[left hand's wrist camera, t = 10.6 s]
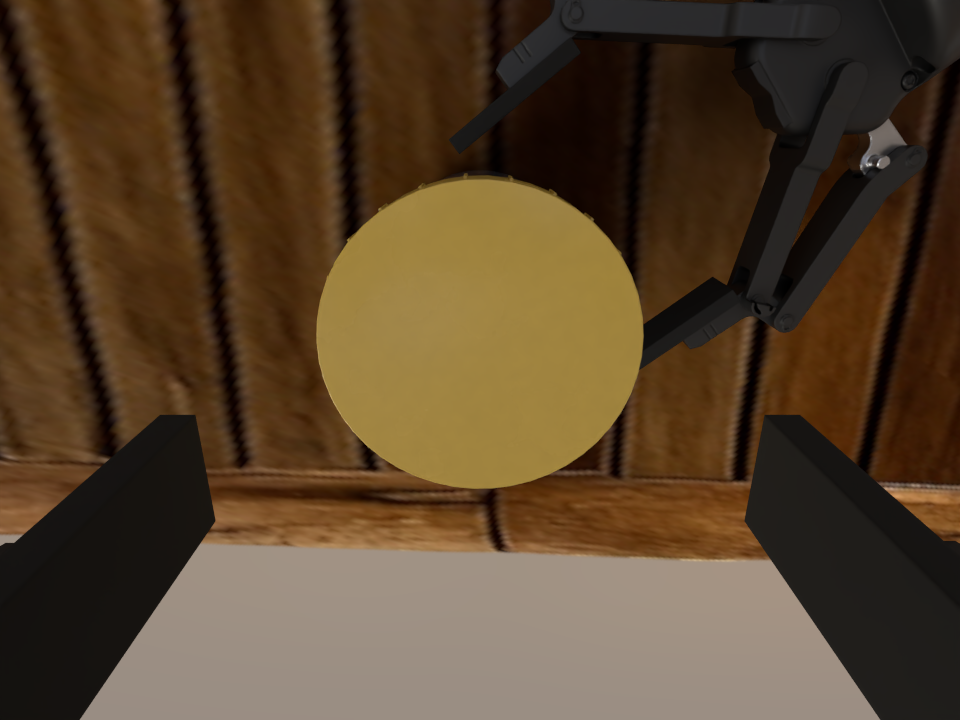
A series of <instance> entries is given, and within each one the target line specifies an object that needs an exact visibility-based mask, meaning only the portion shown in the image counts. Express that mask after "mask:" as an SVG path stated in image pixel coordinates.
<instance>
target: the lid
mask: <svg viewBox="0 0 960 720" xmlns="http://www.w3.org/2000/svg"><path fill="white" fill-rule="evenodd" d="M378 210H379V212H378V213H377V214H376V215H375V216H374V217H372V218H371V219H370V220H369V221H368V222H367V223H365V224H364V225H363V226H362V227H361V228H360V229H359V230H358V231H357V232H356V233H355V234H354V235H352V236H351V237H350V238H349V239H348V240H347V241H348V243H347V244H346V246H345V247H344V249H343V250H342V252H341V253H340V255H339V256H338V258H337V259H336V261H335V263H334V265H333V267H332V269H331V271H330V274H329V275H328V276H327V280H326V283H325V286H324V289H323V293H322V296H321V299H320V304H319V311H318V317H317V350H318V358H319V364H320V367H321V371H322V375H323V379H324V382H325V384H326V387H327V389H328V392H329V394H330V396H331V399H332V401H333V402H334V404H335V406H336V408H337V409H338V411H339V413H340V415H341V416H342V418H343V419H344V420H345V422H346V423H347V424H348V425H349V427H350V428H351V429H352V431H353V432H354V433H355V434H356V435H357V436H358V437H359V438H360V439H361V440H362V441H363V442H364V443H365V444H366V445H367V446H368V447H369V448H370V449H372V450H373V451H374V452H375V453H377V454H378V455H379V456H380V457H382V458H383V459H385V460H386V461H388V462H390V463H391V464H393V465H394V466H396V467H398V468H399V469H402V470H404V471H406V472H408V473H410V474H412V475H414V476H417V477H419V478H422V479H425V480H428V481H431V482H434V483H439V484H444V485H448V486H453V487H463V488H498V487H506V486H513V485H517V484H521V483H525V482H529V481H532V480H535V479H537V478H540V477H543V476H546V475H548V474H550V473H552V472H554V471H556V470H558V469H560V468H562V467H564V466H566V465H568V464H569V463H571V462H572V461H574V460H575V459H577V458H578V457H580V456H581V455H582V454H584V453H585V452H586V451H587V450H588V449H589V448H591V447H592V446H593V445H594V444H595V443H597V442H598V440H599V439H600V438H601V437H602V436H603V435H604V434H605V433H606V432H607V431H608V429H609V428H610V427H611V426H612V424H613V423H614V422H615V420H616V419H617V417H618V416H619V414H620V413H621V412H622V410H623V408H624V406H625V404H626V402H627V400H628V398H629V396H630V395H631V392H632V389H633V387H634V384H635V381H636V379H637V376H638V372H639V367H640V363H641V358H642V350H643V338H644V332H643V315H642V310H641V305H640V300H639V295H638V291H637V289H636V286H635V283H634V281H633V278H632V275H631V273H630V271H629V269H628V267H627V265H626V263H625V261H624V260H623V258H622V256H621V254H622V253H621V252H620V251H619V250H618V249H617V248H616V247H615V246H614V245H613V243H612V242H611V240H610V239H609V238H608V237H607V236H606V235H605V234H604V233H603V232H602V230H601V229H600V228H599V227H598V226H597V225H596V224H595V223H594V222H593V220H594V219H593V218H592V217H591V216H589V215H588V214H586V213H584V214H583V213H581V212H580V211H579V210H578V209H576V208H575V207H574V206H572V205H571V204H570V203H569V202H567V201H565V200H564V199H562V198H560V197H558V196H557V193H555V192H554V191H553V190H551V189H549V191H547V190H545V189H543V188H540V187H538V186H535V185H533V184H531V183H527V182H523V181H519V180H515V179H513V178H512V176H509V175H508V178H506V177H497V176H489V175H482V176H468V174H467V173H465V174H464V176H462V177H455V178H449V179H444V180H440V181H437V182H434V183H430V184H427V185H425V183H422V184H421V185H420V186H419V187H418V188H417V189H415V190H413V191H411V192H409V193H407V194H404V195H403V196H401V197H400V198H398V199H397V200H395V201H394V202H392V203H390V204H389V205H388V204H387V203H386V204H385V205H383V206H382V207H380V208H379V209H378Z"/></svg>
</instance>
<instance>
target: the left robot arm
mask: <svg viewBox="0 0 960 720" xmlns="http://www.w3.org/2000/svg"><path fill="white" fill-rule="evenodd" d="M214 522H215V516H214V511H213V505H212V500H211V495H210V489H209V484H208V479H207V474H206V468H205V463H204V458H203V453H202V447H201V442H200V437H199V432H198V426H197V421H196V416H195V415H160V416H158V417H157V418H156V419H155V420H154V421H153V422H152V423H150V424H149V425H148V426H147V427H146V428H145V429H144V430H142V431H141V432H140V433H139V434H138V435H137V436H136V437H134V438H133V439H132V440H131V441H130V442H129V443H128V444H126V445H125V446H124V447H123V448H122V449H121V450H120V451H118V452H117V453H116V454H115V455H114V456H113V457H112V458H110V459H109V460H108V461H107V462H106V463H105V464H104V465H103V466H101V467H100V468H99V469H98V470H97V471H96V472H95V473H93V474H92V475H91V476H90V477H89V478H88V479H87V480H85V481H84V482H83V483H82V484H81V485H80V486H79V487H77V488H76V489H75V490H74V491H73V492H72V493H71V494H69V495H68V496H67V497H66V498H65V499H64V500H63V501H61V502H60V503H59V504H58V505H57V506H56V507H55V508H54V509H52V510H51V511H50V512H49V513H48V514H47V515H46V516H44V517H43V518H42V519H41V520H40V521H39V522H38V523H36V524H35V525H34V526H33V527H32V528H31V529H30V530H28V531H27V532H26V533H25V534H24V535H23V536H22V537H20V538H19V539H18V540H17V541H16V542H15V543H5V544H3V545H1V546H0V720H80V718H81V717H82V715H83V714H84V713H85V711H86V710H87V708H88V707H89V705H90V704H91V702H92V701H93V699H94V698H95V696H96V695H97V694H98V692H99V691H100V689H101V688H102V686H103V685H104V683H105V682H106V680H107V679H108V677H109V676H110V674H111V673H112V672H113V670H114V669H115V667H116V666H117V664H118V663H119V661H120V660H121V658H122V657H123V655H124V654H125V653H126V651H127V650H128V648H129V647H130V645H131V644H132V642H133V641H134V639H135V638H136V636H137V635H138V633H139V632H140V631H141V629H142V628H143V626H144V625H145V623H146V622H147V620H148V619H149V617H150V616H151V615H152V613H153V611H154V610H155V609H156V607H157V606H158V604H159V603H160V601H161V600H162V598H163V597H164V596H165V594H166V593H167V591H168V590H169V588H170V587H171V585H172V584H173V582H174V581H175V579H176V578H177V576H178V575H179V574H180V572H181V571H182V569H183V568H184V566H185V565H186V563H187V562H188V560H189V559H190V558H191V556H192V555H193V553H194V552H195V550H196V549H197V547H198V546H199V544H200V543H201V541H202V540H203V539H204V537H205V536H206V534H207V533H208V531H209V530H210V528H211V527H212V525H213V524H214ZM745 522H746V524H747V525H748V527H749V528H750V530H751V531H752V533H753V534H754V536H755V537H756V539H757V540H758V541H759V543H760V544H761V546H762V547H763V549H764V550H765V552H766V553H767V555H768V556H769V558H770V559H771V560H772V562H773V563H774V565H775V566H776V568H777V569H778V571H779V572H780V574H781V575H782V576H783V578H784V579H785V581H786V582H787V584H788V585H789V587H790V588H791V590H792V591H793V593H794V594H795V596H796V597H797V598H798V600H799V601H800V603H801V604H802V606H803V607H804V609H805V610H806V612H807V613H808V615H809V616H810V617H811V619H812V620H813V622H814V623H815V625H816V626H817V628H818V629H819V631H820V632H821V634H822V635H823V636H824V638H825V639H826V641H827V642H828V644H829V645H830V647H831V648H832V650H833V651H834V653H835V654H836V655H837V657H838V658H839V660H840V661H841V663H842V664H843V666H844V667H845V669H846V670H847V672H848V673H849V674H850V676H851V677H852V679H853V680H854V682H855V683H856V685H857V686H858V688H859V689H860V691H861V692H862V693H863V695H864V696H865V698H866V699H867V701H868V702H869V704H870V705H871V707H872V708H873V710H874V711H875V713H876V714H877V715H878V717H879V718H880V720H960V543H958V542H956V541H943V540H942V539H941V538H940V537H938V536H937V535H936V534H935V533H934V532H933V531H932V530H930V529H929V528H928V527H927V526H926V525H925V524H924V523H922V522H921V521H920V520H919V519H918V518H917V517H916V516H914V515H913V514H912V513H911V512H910V511H909V510H908V509H906V508H905V507H904V506H903V505H902V504H901V503H900V502H899V501H897V500H896V499H895V498H894V497H893V496H892V495H891V494H889V493H888V492H887V491H886V490H885V489H884V488H883V487H881V486H880V485H879V484H878V483H877V482H876V481H875V480H873V479H872V478H871V477H870V476H869V475H868V474H867V473H865V472H864V471H863V470H862V469H861V468H860V467H859V466H857V465H856V464H855V463H854V462H853V461H852V460H851V459H850V458H848V457H847V456H846V455H845V454H844V453H843V452H842V451H840V450H839V449H838V448H837V447H836V446H835V445H834V444H832V443H831V442H830V441H829V440H828V439H827V438H826V437H824V436H823V435H822V434H821V433H820V432H819V431H818V430H816V429H815V428H814V427H813V426H812V425H811V424H810V423H808V422H807V421H806V420H805V419H804V418H803V417H802V416H800V415H765V416H764V421H763V426H762V432H761V437H760V442H759V447H758V453H757V458H756V463H755V468H754V474H753V479H752V484H751V489H750V495H749V500H748V505H747V511H746V516H745Z"/></svg>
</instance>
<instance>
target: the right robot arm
mask: <svg viewBox="0 0 960 720" xmlns="http://www.w3.org/2000/svg"><path fill="white" fill-rule="evenodd" d="M550 3H551V13H550V16H549V18H548V19H547V20H546V21H545V22H543V23H542V24H541V25H540V26H539V27H538V28H536V29H535V30H534V31H533V32H532V33H531V34H529V35H528V36H527V37H526V38H525V39H524V40H523V41H521V42H520V43H519V44H518V45H517V46H516V47H514V48H513V49H512V50H511V51H510V52H509V53H507V54H506V55H505V56H504V57H503V58H502V60H501V62H500V64H499V66H498V67H497V69H496V74H497V75H498V77H499V78H500V80H501V81H502V83H503V84H504V86H505V87H506V88H507V91H506V92H505V93H504V94H502V95H501V96H500V97H499V98H498V99H496V100H495V101H494V102H493V103H492V104H490V105H489V106H488V107H487V108H486V109H485V110H483V111H482V112H481V113H480V114H479V115H477V116H476V117H475V118H474V119H473V120H472V121H470V122H469V123H468V124H467V125H466V126H464V127H463V128H462V129H461V130H460V131H459V132H457V133H456V134H455V135H454V136H453V137H451V138H450V139H449V141H450V142H451V143H452V145H453V146H454V147H455V149H456V150H457V151H458V153H459V154H460V153H461V152H462V151H464V150H465V149H466V148H467V147H468V146H470V145H471V144H472V143H473V142H474V141H476V140H477V139H478V138H479V137H480V136H482V135H483V134H484V133H485V132H486V131H488V130H489V129H490V128H491V127H492V126H494V125H495V124H496V123H497V122H498V121H500V120H501V119H502V118H503V117H504V116H506V115H507V114H508V113H509V112H510V111H512V110H513V109H514V108H515V107H516V106H518V105H519V104H520V103H521V102H522V101H524V100H525V99H526V98H527V97H528V96H530V95H531V94H532V93H533V92H534V91H536V90H537V89H538V88H539V87H540V86H542V85H543V84H544V83H545V82H546V81H548V80H549V79H550V78H551V77H552V76H554V75H555V74H556V73H557V72H558V71H560V70H561V69H562V68H563V67H564V66H566V65H567V64H568V63H569V62H570V61H572V60H573V59H574V58H575V57H576V56H578V55H579V54H580V53H581V52H580V50H579V49H578V47H577V46H576V44H575V43H574V41H573V39H578V40H600V41H621V42H643V43H665V44H687V45H702V46H704V47H716V48H736V50H735V56H734V63H735V69H734V70H733V71H732V73H733V75H734V77H735V79H736V80H737V82H738V84H739V86H740V87H741V88H742V89H744V90H745V91H746V92H747V93H748V94H749V95H750V96H751V97H752V100H753V104H754V108H755V112H756V116H757V117H758V119H759V121H760V123H761V124H762V126H763V128H764V129H770V130H772V131H773V132H775V133H777V136H776V139H775V142H774V145H773V147H772V150H771V153H770V157H769V161H770V169H769V172H768V175H767V177H766V180H765V183H764V185H763V188H762V191H761V194H760V196H759V199H758V202H757V205H756V207H755V210H754V213H753V216H752V218H751V221H750V224H749V227H748V229H747V232H746V235H745V237H744V240H743V243H742V246H741V248H740V251H739V254H738V257H737V259H736V262H735V265H734V268H733V270H732V273H731V276H730V279H729V281H728V284H727V285H725V284H723V283H722V282H720V281H718V280H717V279H715V278H714V277H712V278H710V279H709V280H707V281H706V282H704V283H703V284H701V285H700V286H699V287H697V288H696V289H694V290H693V291H691V292H690V293H688V294H687V295H686V296H684V297H683V298H681V299H680V300H678V301H677V302H675V303H674V304H673V305H671V306H670V307H668V308H667V309H665V310H664V311H662V312H661V313H660V314H658V315H657V316H655V317H654V318H652V319H651V320H649V321H648V322H647V323H645V324H644V325H643V332H644V338H643V350H642V358H641V363H640V367H639V370H640V369H641V368H643V367H644V366H646V365H647V364H649V363H650V362H652V361H653V360H655V359H656V358H658V357H659V356H661V355H662V354H664V353H665V352H667V351H668V350H670V349H671V348H673V347H674V346H676V345H677V344H679V343H680V342H682V341H683V342H684V343H685V344H686V345H687V346H688V347H689V348H690V349H692V348H696V347H700V346H702V345H703V344H705V343H706V342H708V341H709V340H710V339H712V338H714V337H716V336H717V335H718V334H720V333H722V332H723V331H725V330H726V329H728V328H729V327H731V326H732V325H734V324H735V323H737V322H738V321H740V320H741V319H743V318H745V317H748V316H755V317H758V318H760V319H761V320H763V321H764V322H766V323H767V324H769V325H770V326H772V327H773V328H775V329H776V330H778V331H779V332H783V333H785V332H790V331H792V330H793V329H794V328H795V327H796V326H797V325H798V324H799V322H800V321H801V319H802V318H803V316H804V315H805V314H806V312H807V311H808V309H809V308H810V306H811V305H812V304H813V302H814V301H815V299H816V298H817V296H818V295H819V294H820V292H821V291H822V289H823V288H824V286H825V285H826V284H827V282H828V281H829V279H830V278H831V276H832V275H833V274H834V272H835V271H836V269H837V268H838V267H839V265H840V264H841V262H842V261H843V259H844V258H845V257H846V255H847V254H848V252H849V251H850V249H851V248H852V247H853V245H854V244H855V242H856V241H857V239H858V238H859V237H860V235H861V234H862V232H863V231H864V229H865V228H866V227H867V225H868V224H869V222H870V221H871V219H872V218H873V217H874V215H875V214H876V212H877V211H878V209H879V208H880V207H881V205H882V204H883V202H884V201H885V199H886V198H887V197H888V196H889V195H890V194H891V193H892V192H894V191H895V190H896V189H897V188H899V187H900V186H901V185H902V184H903V183H905V182H906V181H907V180H908V179H910V178H911V177H912V176H913V175H915V174H916V173H917V172H918V171H919V170H921V168H922V167H923V166H924V165H925V163H926V161H927V152H926V149H925V148H923V147H922V146H918V145H907V144H906V143H905V142H904V140H903V139H902V137H901V136H900V134H899V133H898V131H897V130H896V129H895V127H894V126H893V124H892V123H891V121H890V120H889V117H890V115H891V114H892V112H893V110H894V109H895V107H896V106H897V104H898V103H899V102H900V101H901V100H902V99H903V98H904V97H905V96H906V95H907V94H908V93H909V92H911V91H912V90H914V89H916V88H917V87H919V86H920V85H922V84H923V83H925V82H926V81H928V80H929V79H931V78H932V77H934V76H935V75H937V74H938V73H939V72H941V71H942V70H944V69H945V68H946V67H948V66H949V65H951V64H952V63H953V62H955V61H956V60H958V59H959V58H960V0H755V1H754V2H736V3H730V4H716V3H695V2H673V1H652V0H550ZM846 134H857V135H858V137H859V144H858V147H857V149H856V151H855V152H854V153H853V154H852V155H850V156H849V158H848V159H847V164H848V165H849V167H850V168H849V169H848V170H847V171H846V172H845V173H844V174H843V175H842V176H841V177H840V178H839V180H838V181H837V182H836V183H835V185H834V186H833V187H832V189H831V190H830V191H829V193H828V194H827V196H826V197H825V199H824V200H823V202H822V203H821V205H820V206H819V208H818V209H817V211H816V212H815V214H814V216H813V217H812V219H811V220H810V222H809V223H808V225H807V226H806V228H805V229H804V231H803V232H802V234H801V235H800V237H799V238H798V240H797V241H796V243H795V244H794V246H793V247H792V245H793V242H794V240H795V237H796V234H797V232H798V229H799V227H800V224H801V222H802V219H803V217H804V214H805V212H806V209H807V207H808V204H809V202H810V199H811V197H812V194H813V192H814V189H815V186H816V184H817V181H818V179H819V177H820V175H821V174H822V173H823V172H824V171H825V170H826V169H827V168H828V167H829V166H830V164H831V162H832V160H833V157H834V155H835V152H836V150H837V147H838V145H839V142H840V140H841V137H842V135H846ZM806 138H807V139H806ZM805 140H806V141H805ZM791 247H792V249H791Z"/></svg>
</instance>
